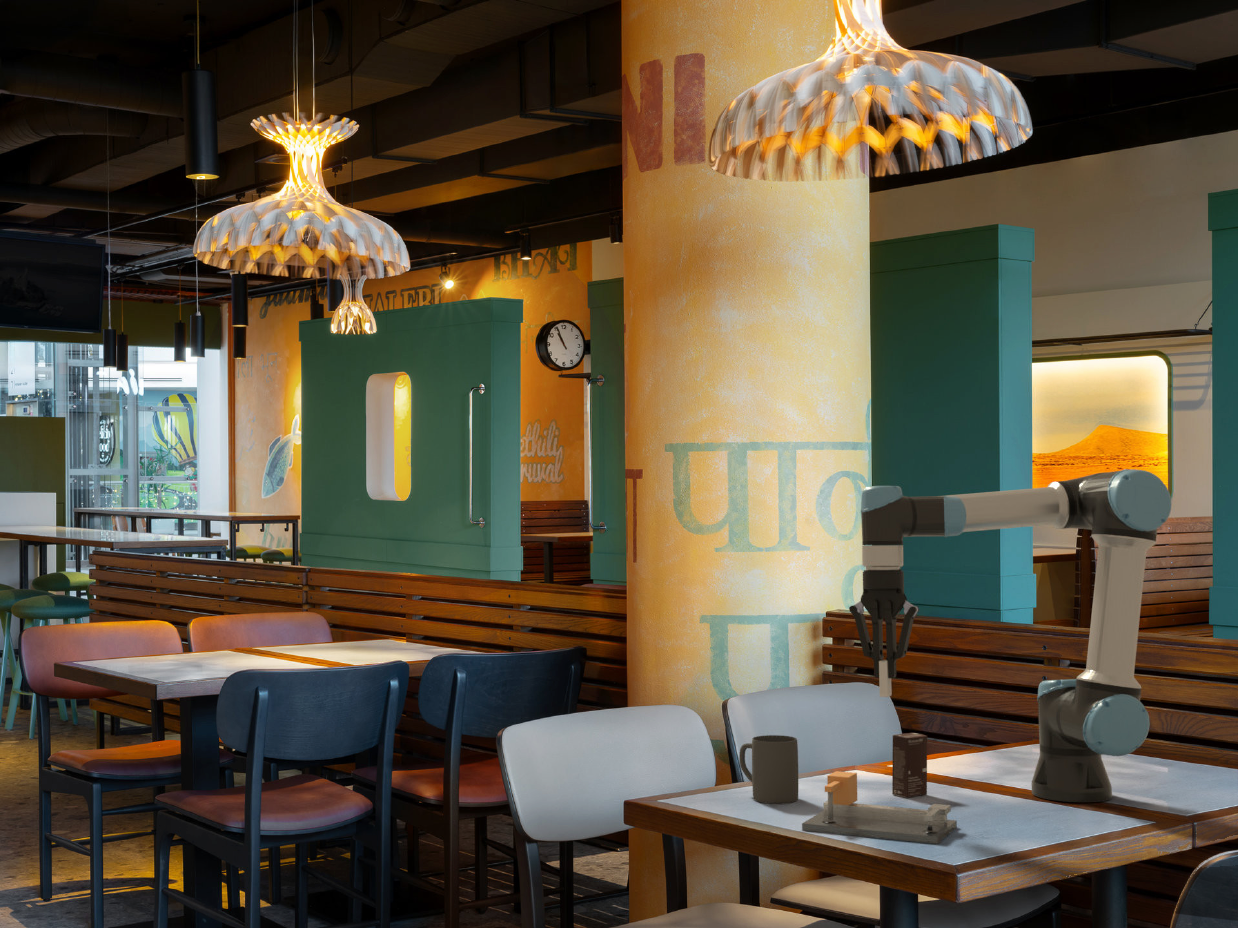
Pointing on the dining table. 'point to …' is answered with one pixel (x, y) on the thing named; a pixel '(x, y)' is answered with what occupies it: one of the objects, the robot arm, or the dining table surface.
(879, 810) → the beam
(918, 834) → the plate
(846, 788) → the jaw
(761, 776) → the mug
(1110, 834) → the dining table surface
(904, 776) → the box
